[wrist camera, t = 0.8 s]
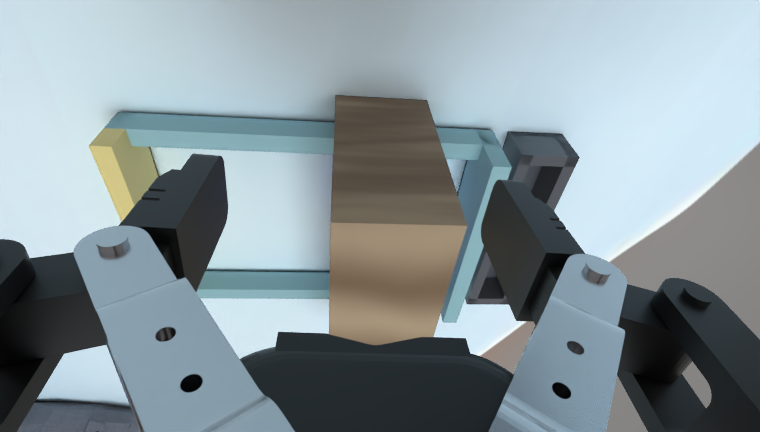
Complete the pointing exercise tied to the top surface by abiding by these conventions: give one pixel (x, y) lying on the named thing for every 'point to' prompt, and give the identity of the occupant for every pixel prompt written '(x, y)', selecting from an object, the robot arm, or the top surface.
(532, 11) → the top surface
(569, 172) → the pit trough
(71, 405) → the soft grey pack
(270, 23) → the top surface
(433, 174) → the tunnel arch
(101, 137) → the sled
